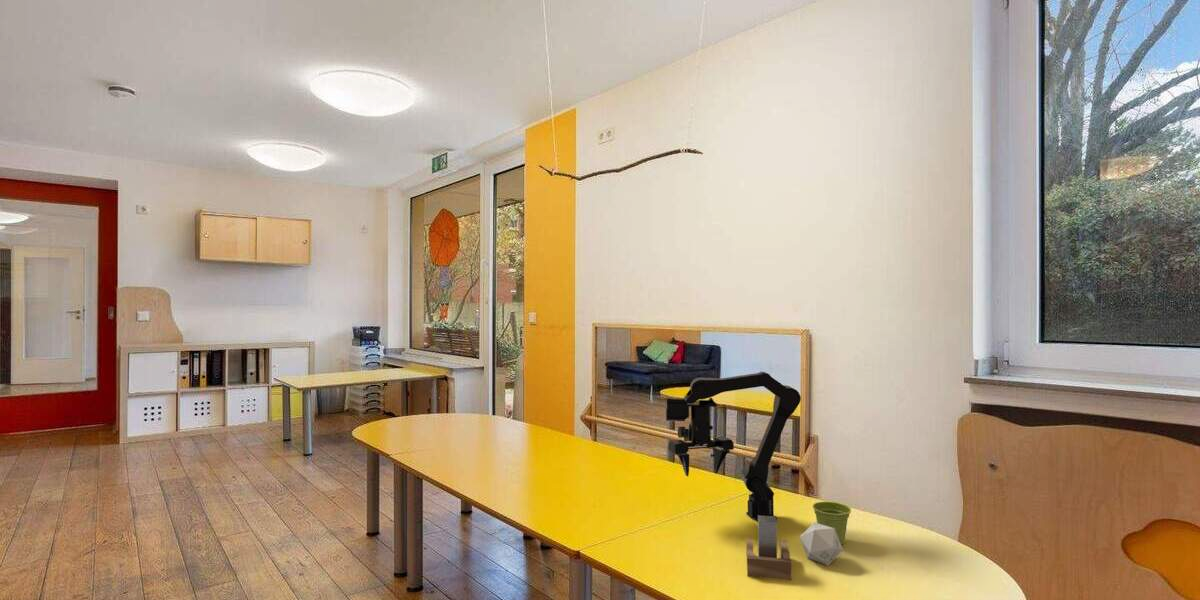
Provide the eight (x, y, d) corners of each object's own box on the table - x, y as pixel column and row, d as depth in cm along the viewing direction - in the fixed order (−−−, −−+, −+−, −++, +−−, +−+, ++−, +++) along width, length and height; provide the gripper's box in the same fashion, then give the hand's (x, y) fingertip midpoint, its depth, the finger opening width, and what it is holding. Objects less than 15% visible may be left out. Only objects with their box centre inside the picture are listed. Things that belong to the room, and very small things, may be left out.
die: (811, 572, 136) (839, 541, 134) (786, 541, 143) (812, 511, 141) (829, 575, 141) (856, 545, 139) (804, 545, 148) (829, 516, 146)
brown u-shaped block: (746, 554, 145) (746, 537, 145) (786, 557, 143) (786, 540, 143) (747, 576, 133) (747, 558, 133) (791, 580, 131) (791, 562, 131)
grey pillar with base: (758, 558, 142) (757, 513, 142) (775, 560, 141) (774, 514, 141) (759, 571, 135) (758, 523, 135) (777, 573, 134) (776, 524, 134)
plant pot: (857, 540, 153) (856, 506, 153) (843, 551, 146) (842, 516, 146) (821, 531, 159) (821, 499, 159) (806, 541, 152) (806, 508, 152)
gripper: (716, 414, 182) (717, 465, 182) (660, 418, 177) (661, 470, 177) (734, 421, 172) (735, 474, 171) (675, 425, 166) (676, 480, 166)
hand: (701, 474), depth 172 cm, fingers open, 9 cm apart
